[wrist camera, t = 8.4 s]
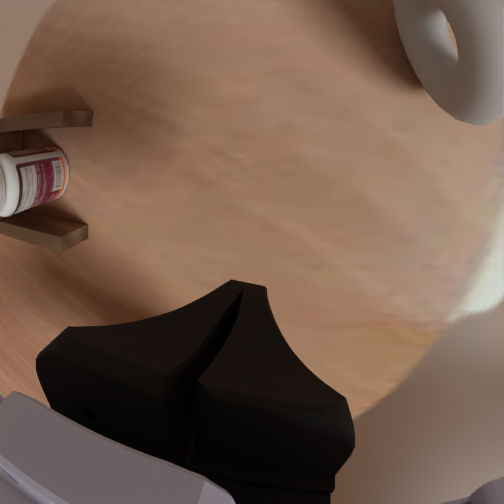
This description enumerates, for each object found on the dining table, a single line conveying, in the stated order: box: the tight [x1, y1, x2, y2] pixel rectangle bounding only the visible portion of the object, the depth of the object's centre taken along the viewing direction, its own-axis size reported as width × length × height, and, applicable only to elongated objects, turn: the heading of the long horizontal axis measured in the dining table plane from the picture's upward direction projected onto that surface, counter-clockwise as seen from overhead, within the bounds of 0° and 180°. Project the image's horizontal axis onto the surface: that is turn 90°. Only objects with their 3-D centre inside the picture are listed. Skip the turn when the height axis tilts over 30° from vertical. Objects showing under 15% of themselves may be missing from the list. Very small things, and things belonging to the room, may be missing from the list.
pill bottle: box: [0, 147, 69, 217], centre depth 17 cm, size 5×5×8 cm
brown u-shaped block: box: [0, 110, 93, 252], centre depth 20 cm, size 10×10×4 cm
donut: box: [393, 0, 504, 125], centre depth 10 cm, size 10×3×10 cm, turn 20°
